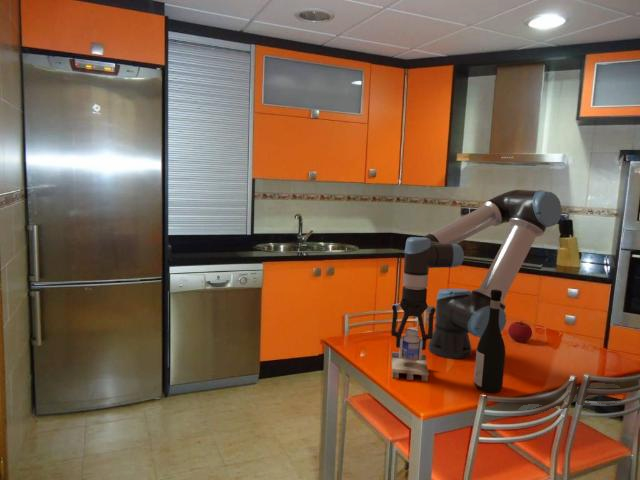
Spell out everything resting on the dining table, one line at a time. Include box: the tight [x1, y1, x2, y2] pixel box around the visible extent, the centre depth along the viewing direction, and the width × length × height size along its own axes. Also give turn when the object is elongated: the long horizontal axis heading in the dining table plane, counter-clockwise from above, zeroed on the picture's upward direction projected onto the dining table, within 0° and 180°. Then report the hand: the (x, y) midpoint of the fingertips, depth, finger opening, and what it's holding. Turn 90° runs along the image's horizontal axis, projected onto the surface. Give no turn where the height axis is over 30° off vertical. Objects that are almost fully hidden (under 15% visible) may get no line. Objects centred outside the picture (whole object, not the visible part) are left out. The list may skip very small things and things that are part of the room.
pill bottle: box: [402, 327, 421, 362], centre depth 148 cm, size 5×5×10 cm
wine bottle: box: [473, 290, 506, 394], centre depth 138 cm, size 8×8×30 cm
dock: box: [391, 351, 430, 382], centre depth 148 cm, size 11×11×4 cm
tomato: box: [507, 320, 533, 342], centre depth 186 cm, size 9×9×8 cm
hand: (409, 358), depth 148 cm, fingers closed on pill bottle, 5 cm apart
